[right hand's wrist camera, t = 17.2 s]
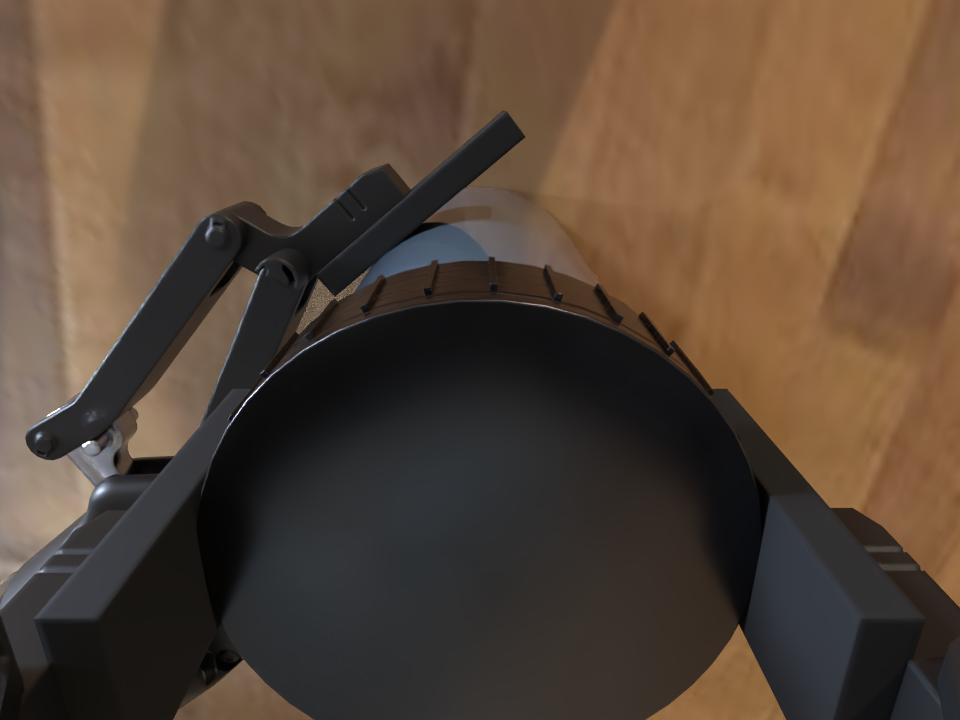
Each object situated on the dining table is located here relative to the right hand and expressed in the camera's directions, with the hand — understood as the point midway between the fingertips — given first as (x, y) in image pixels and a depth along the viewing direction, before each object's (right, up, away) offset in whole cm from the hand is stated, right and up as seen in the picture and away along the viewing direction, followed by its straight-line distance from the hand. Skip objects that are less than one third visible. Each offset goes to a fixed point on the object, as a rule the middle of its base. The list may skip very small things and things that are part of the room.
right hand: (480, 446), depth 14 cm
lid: (0, -1, -3) cm, 4 cm away
